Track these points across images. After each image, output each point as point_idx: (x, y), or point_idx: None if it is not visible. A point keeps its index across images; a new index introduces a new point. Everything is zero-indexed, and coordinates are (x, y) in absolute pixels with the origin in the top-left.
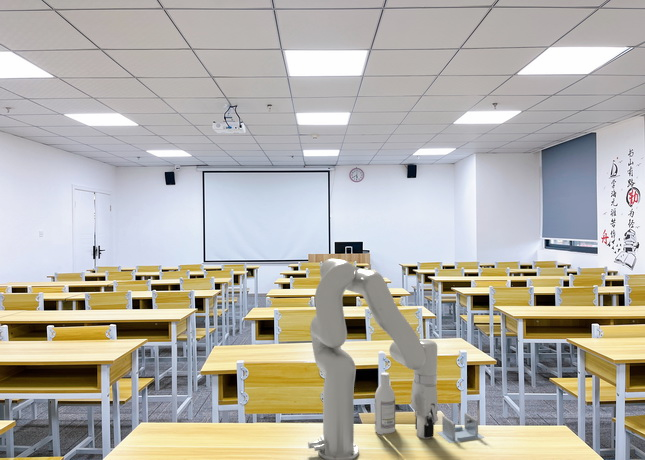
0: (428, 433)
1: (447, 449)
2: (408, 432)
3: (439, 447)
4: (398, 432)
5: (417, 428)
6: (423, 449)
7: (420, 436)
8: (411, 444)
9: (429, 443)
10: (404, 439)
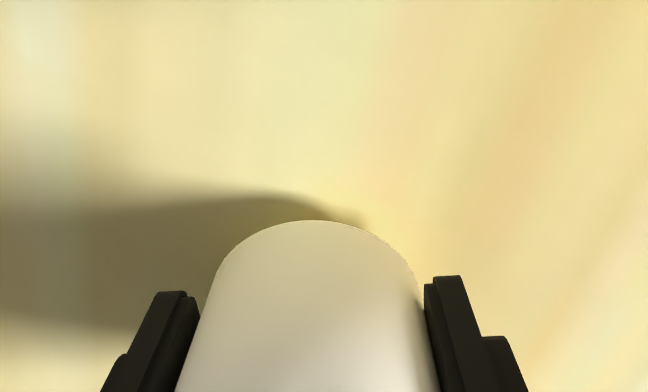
0: (114, 375)
1: (44, 382)
2: (556, 163)
3: (85, 337)
4: (633, 2)
5: (299, 298)
6: (21, 158)
7: (241, 249)
8: (172, 52)
9: (186, 284)
10: (355, 5)
